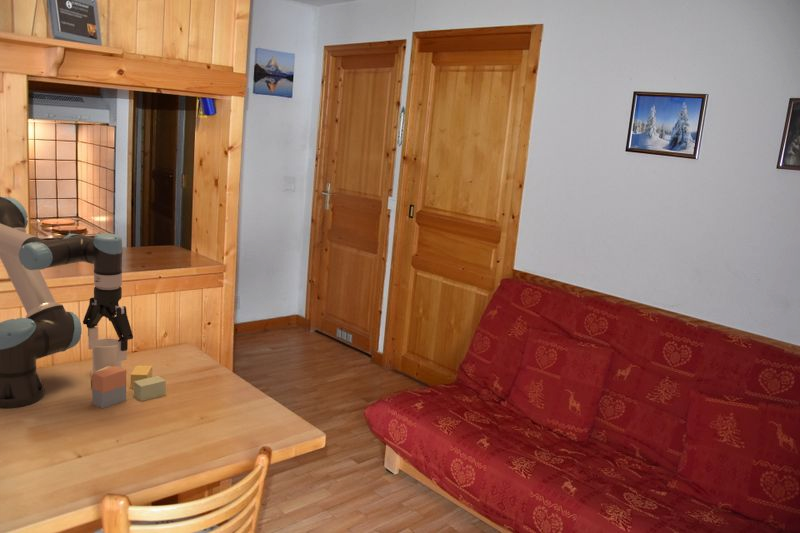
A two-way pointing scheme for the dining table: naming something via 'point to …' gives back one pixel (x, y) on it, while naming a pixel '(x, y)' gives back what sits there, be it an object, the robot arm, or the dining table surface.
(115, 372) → the terracotta brick
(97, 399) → the slate brick
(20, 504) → the dining table surface
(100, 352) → the mug
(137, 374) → the mustard brick
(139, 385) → the sage brick
